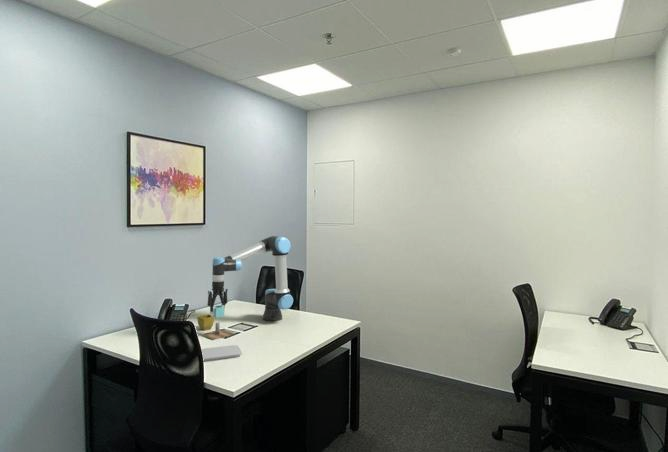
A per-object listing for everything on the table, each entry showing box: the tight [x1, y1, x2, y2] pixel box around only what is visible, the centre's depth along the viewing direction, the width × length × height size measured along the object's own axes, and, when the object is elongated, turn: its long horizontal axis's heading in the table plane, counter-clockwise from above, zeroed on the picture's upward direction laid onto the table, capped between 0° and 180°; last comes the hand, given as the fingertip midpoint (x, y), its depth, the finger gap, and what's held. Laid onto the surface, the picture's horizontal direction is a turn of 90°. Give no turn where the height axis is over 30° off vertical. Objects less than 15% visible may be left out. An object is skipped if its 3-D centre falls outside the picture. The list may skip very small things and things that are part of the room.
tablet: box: [201, 344, 243, 362], centre depth 218 cm, size 16×26×2 cm, turn 115°
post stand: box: [200, 322, 235, 341], centre depth 254 cm, size 16×14×8 cm
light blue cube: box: [209, 304, 226, 319], centre depth 253 cm, size 6×6×6 cm
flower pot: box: [197, 313, 215, 331], centre depth 266 cm, size 9×9×9 cm
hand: (217, 315), depth 254 cm, fingers closed on light blue cube, 6 cm apart
